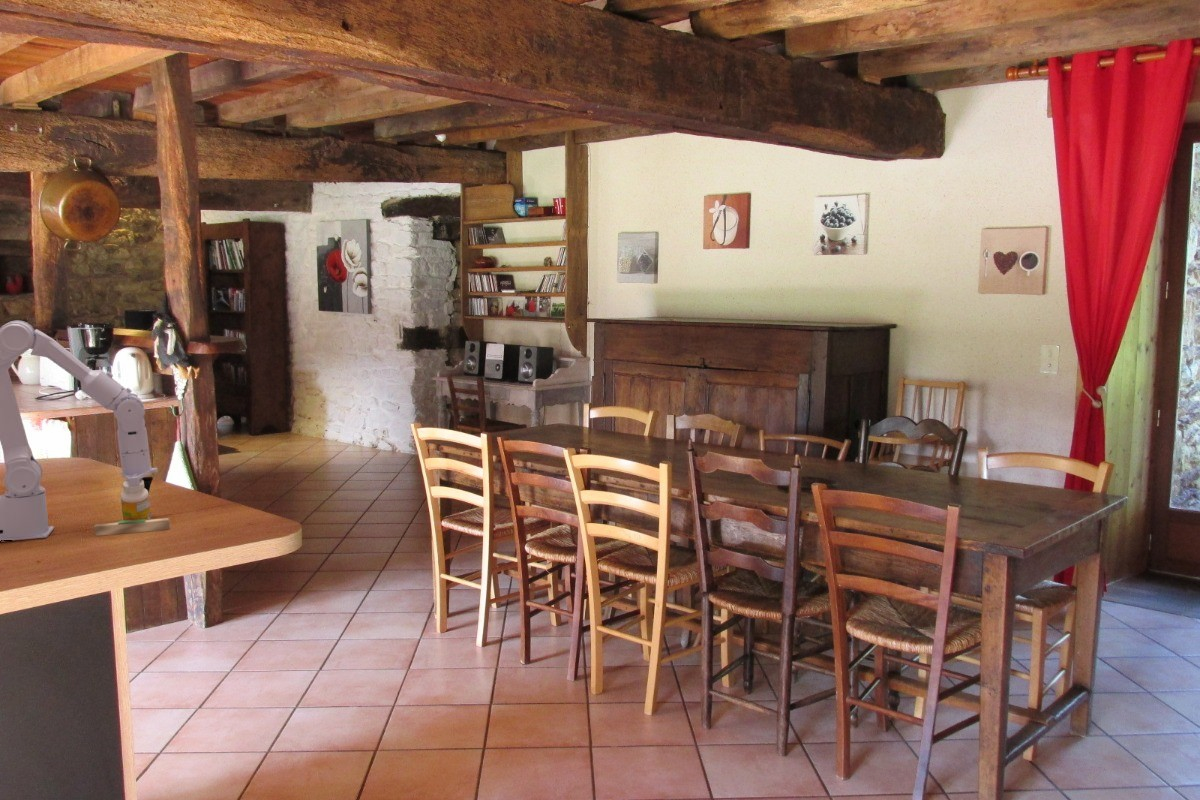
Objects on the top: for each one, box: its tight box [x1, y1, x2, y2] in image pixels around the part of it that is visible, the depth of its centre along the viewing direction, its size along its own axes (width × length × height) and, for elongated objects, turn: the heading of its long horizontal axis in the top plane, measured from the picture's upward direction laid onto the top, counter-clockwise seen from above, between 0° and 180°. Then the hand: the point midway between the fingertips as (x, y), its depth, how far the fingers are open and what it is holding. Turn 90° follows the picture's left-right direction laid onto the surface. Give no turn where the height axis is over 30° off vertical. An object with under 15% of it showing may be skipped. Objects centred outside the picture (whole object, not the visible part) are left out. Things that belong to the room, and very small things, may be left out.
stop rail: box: [93, 517, 171, 537], centre depth 204 cm, size 14×2×2 cm, turn 109°
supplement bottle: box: [120, 479, 152, 521], centre depth 207 cm, size 5×5×10 cm
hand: (142, 512), depth 211 cm, fingers closed, pressing on supplement bottle
